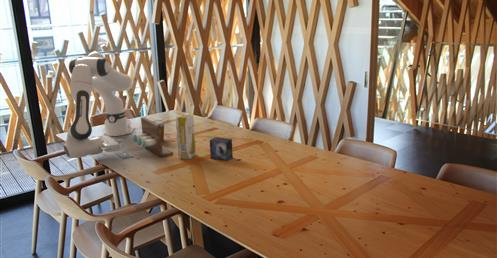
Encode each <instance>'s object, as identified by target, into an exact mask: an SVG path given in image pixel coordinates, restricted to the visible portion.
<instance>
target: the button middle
mask: <svg viewBox="0 0 497 258" xmlns="http://www.w3.org/2000/svg"><path fill="white" fill-rule="evenodd" d="M149 139H152V137H151V136H145V137H137V142H136V143H137V145H138V146H142V140H149Z"/></svg>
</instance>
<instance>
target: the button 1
mask: <svg viewBox="0 0 497 258" xmlns="http://www.w3.org/2000/svg"><path fill="white" fill-rule="evenodd" d="M145 136H147V133H143V134H142V133H139V134H135V133H134V134H132V141H133V143H137V137H145Z"/></svg>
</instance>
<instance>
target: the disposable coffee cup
mask: <svg viewBox="0 0 497 258" xmlns="http://www.w3.org/2000/svg"><path fill="white" fill-rule="evenodd" d="M152 121H153V122H155V123H157V124H159V125H160V129H161V141H162V142H164V141H165V137H164V136H165V125H166V123H165V121H164V120H160V119H158V120H152Z"/></svg>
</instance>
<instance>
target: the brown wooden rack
mask: <svg viewBox="0 0 497 258" xmlns="http://www.w3.org/2000/svg"><path fill="white" fill-rule="evenodd" d="M153 121H154V120H151V119H149V118H147V117H145V116H144V117H140V123H141V132H142V133H141V134H143V133H147V136H151V137H152V139H154V138H156V140H157V145H153V146H148V147H146V148H144V150H147V151H148V152H149V153H151V154H153V155H154V156H155V157H158V158H159V159H160V158H165V157H169V156H173V155H174V152H173V151H172V150H170V149H168V148H166V147H165V146H163V141H161V129H160V125H159V124H157V123H155V122H153Z"/></svg>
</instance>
